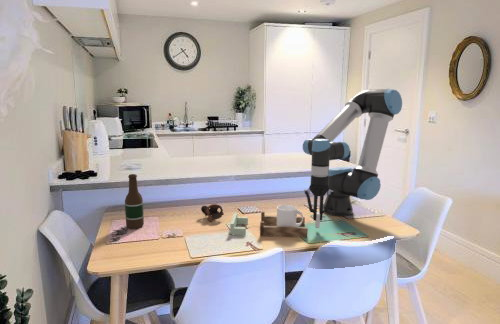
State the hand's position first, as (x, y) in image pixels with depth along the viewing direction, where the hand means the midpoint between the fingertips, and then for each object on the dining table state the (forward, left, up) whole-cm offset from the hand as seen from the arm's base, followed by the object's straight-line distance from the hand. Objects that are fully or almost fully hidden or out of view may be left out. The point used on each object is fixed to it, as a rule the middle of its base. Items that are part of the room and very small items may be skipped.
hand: (317, 227), depth 158 cm
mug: (+12, 0, -2) cm, 12 cm away
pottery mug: (+49, -13, -2) cm, 51 cm away
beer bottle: (+82, +1, -2) cm, 82 cm away
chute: (+15, 0, -2) cm, 15 cm away
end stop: (+34, 0, -2) cm, 35 cm away
